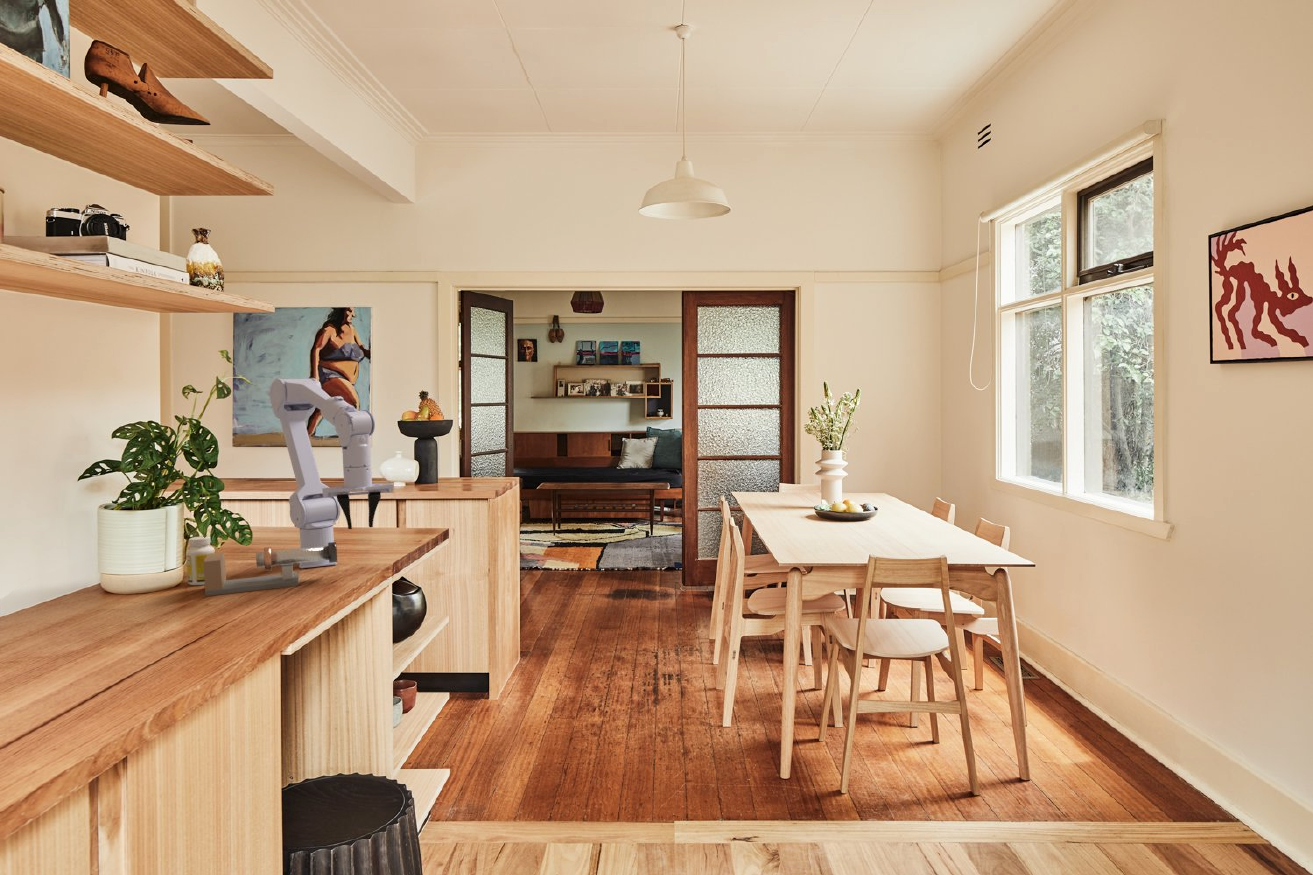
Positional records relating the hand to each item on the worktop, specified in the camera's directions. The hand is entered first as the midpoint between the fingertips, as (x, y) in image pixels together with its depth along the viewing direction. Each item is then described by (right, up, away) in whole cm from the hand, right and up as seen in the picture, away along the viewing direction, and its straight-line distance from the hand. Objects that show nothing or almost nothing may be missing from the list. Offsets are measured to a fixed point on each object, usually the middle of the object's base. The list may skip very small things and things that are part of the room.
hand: (360, 527), depth 174 cm
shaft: (-12, -8, -5) cm, 15 cm away
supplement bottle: (-33, -12, -4) cm, 35 cm away
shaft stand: (-19, -11, -7) cm, 23 cm away
